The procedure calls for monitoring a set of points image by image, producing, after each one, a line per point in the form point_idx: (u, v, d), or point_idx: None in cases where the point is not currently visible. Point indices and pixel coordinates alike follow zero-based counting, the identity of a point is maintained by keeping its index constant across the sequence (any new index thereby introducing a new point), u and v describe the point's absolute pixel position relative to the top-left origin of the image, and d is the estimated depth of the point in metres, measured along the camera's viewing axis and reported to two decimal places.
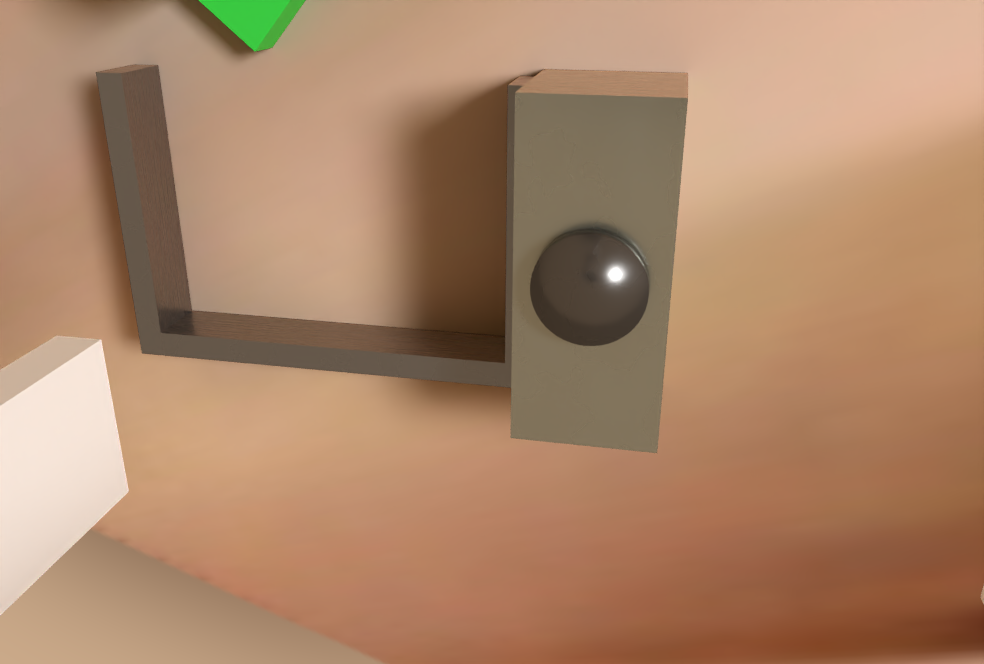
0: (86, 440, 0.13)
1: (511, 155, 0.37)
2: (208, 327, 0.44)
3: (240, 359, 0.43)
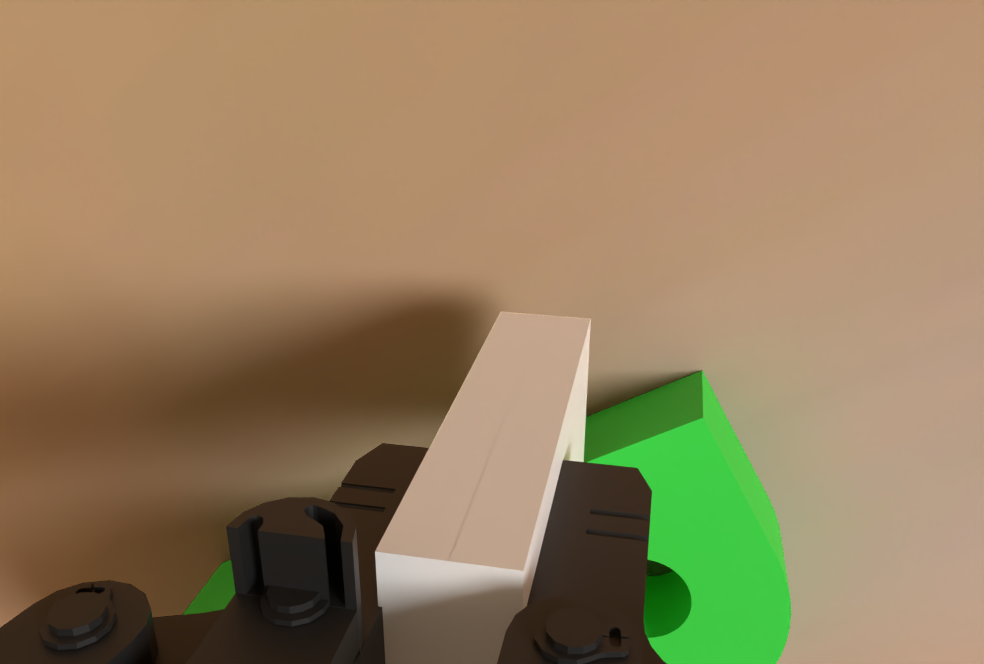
0: None
1: None
2: None
3: None
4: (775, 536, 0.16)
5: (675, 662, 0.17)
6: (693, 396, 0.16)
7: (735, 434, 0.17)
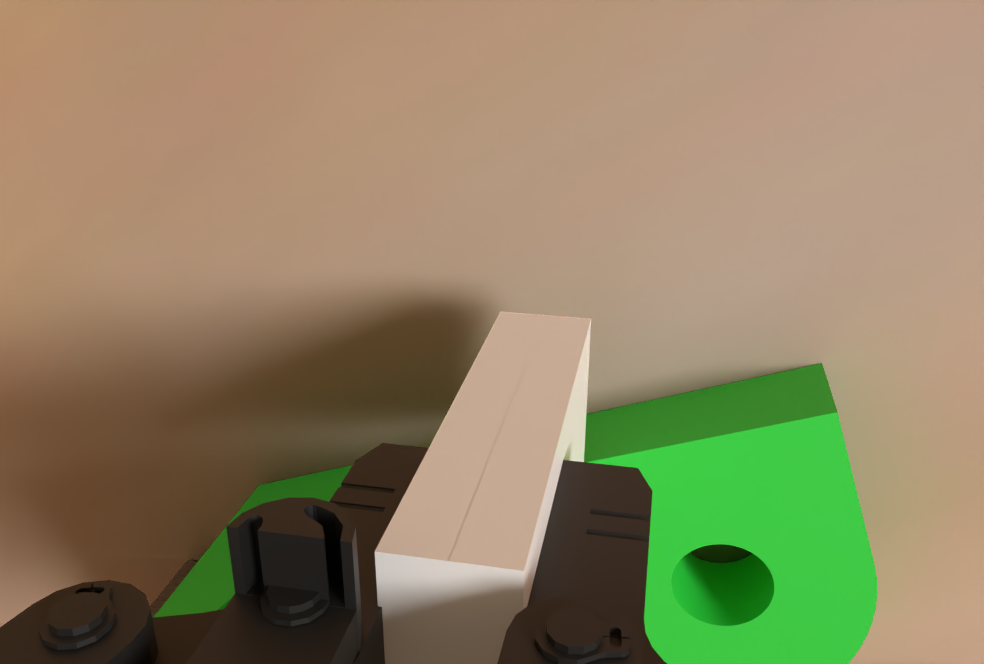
0: None
1: None
2: None
3: None
4: None
5: (739, 653, 0.17)
6: (817, 388, 0.15)
7: None
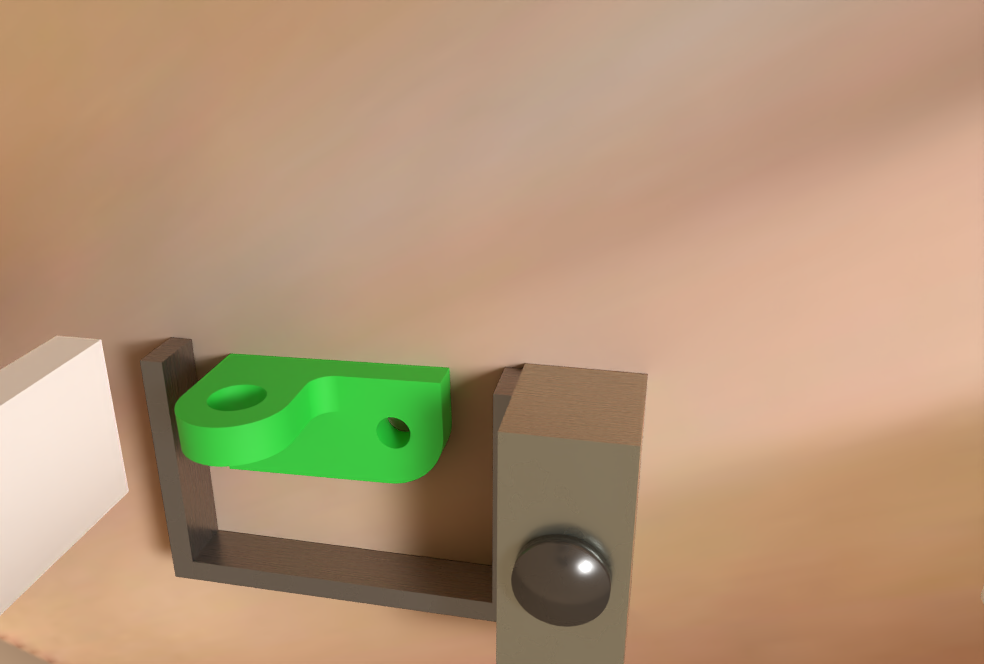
0: (86, 440, 0.13)
1: (496, 446, 0.43)
2: (233, 553, 0.50)
3: (262, 586, 0.49)
4: (446, 431, 0.46)
5: (394, 459, 0.46)
6: (441, 374, 0.45)
7: (450, 393, 0.46)
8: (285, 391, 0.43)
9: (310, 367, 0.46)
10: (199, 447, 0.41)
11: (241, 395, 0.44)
